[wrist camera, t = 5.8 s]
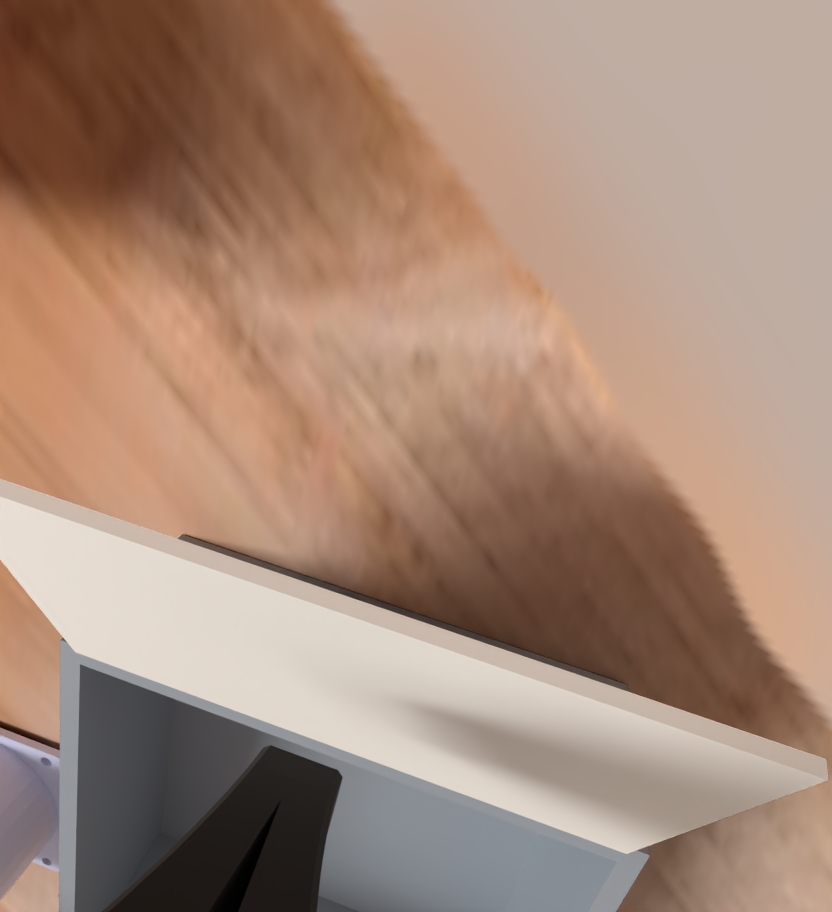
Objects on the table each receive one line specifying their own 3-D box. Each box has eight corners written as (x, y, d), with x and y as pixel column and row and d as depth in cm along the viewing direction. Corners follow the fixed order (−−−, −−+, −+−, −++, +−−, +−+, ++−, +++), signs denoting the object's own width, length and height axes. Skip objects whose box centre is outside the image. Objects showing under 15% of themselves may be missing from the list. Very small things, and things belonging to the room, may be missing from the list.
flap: (-71, 472, 11) (-57, 459, 11) (75, 652, 17) (82, 641, 17) (828, 780, 9) (826, 758, 9) (626, 854, 15) (627, 840, 15)
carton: (153, 827, 29) (58, 971, 23) (182, 534, 22) (60, 640, 17) (491, 959, 27) (472, 1148, 22) (627, 684, 21) (649, 855, 15)
